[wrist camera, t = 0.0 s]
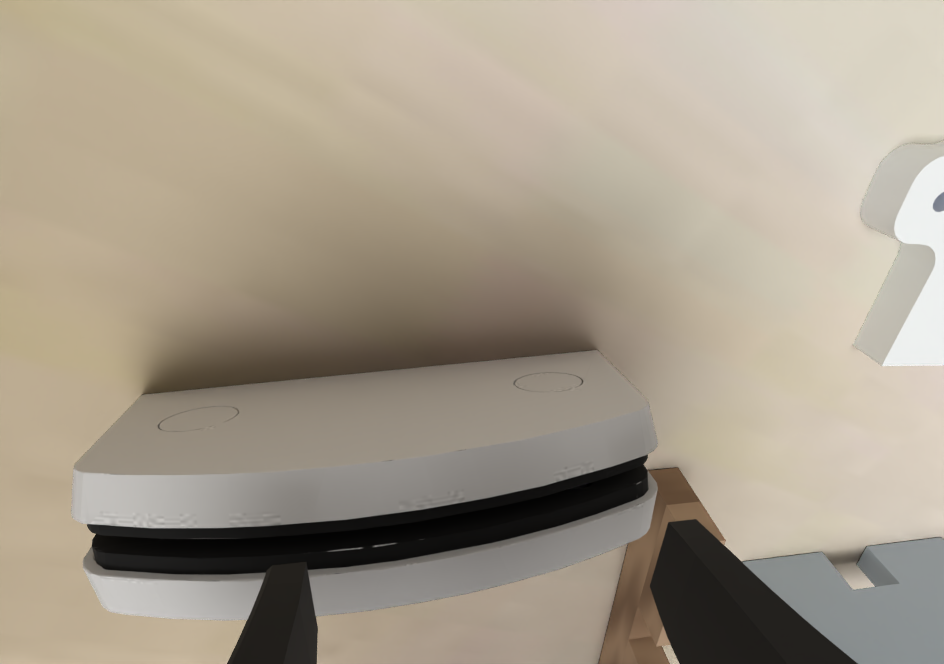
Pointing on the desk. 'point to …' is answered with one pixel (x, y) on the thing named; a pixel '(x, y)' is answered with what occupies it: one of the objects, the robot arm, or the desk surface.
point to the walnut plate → (649, 576)
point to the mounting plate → (908, 258)
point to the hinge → (365, 485)
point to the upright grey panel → (869, 600)
